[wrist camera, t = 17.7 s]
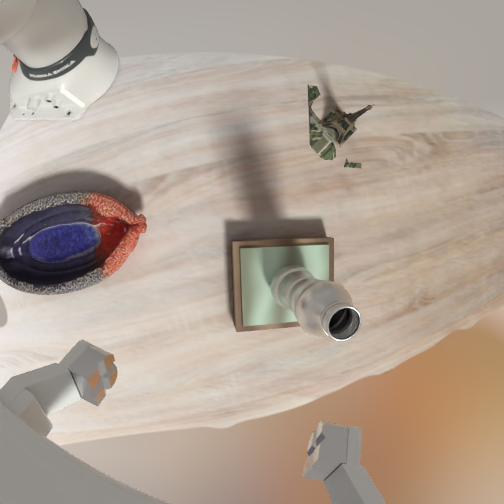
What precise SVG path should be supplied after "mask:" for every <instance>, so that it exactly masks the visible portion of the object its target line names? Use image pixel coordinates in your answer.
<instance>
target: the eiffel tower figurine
mask: <svg viewBox="0 0 504 504" xmlns="http://www.w3.org/2000/svg"><path fill="white" fill-rule="evenodd" d="M319 95H320V92H319V90H318V88H317V86H310V85H308V98H309V123H310V145H311V147H312V149H313V150H314V151H315V152H316V153H318V155H319V156H320V157H321V158H323V159H325V160H329V159H330V160H332V159H334V158H336V149H335V146H334V143H333V141H334V142H335V143H336V144H337V145H338V146H339V147H340V146H341V145H342V144H343V143H344V142H345V141H346V140H347V139H348V138H349V137H350V136H351V135H352V134H353V133H354V132H355V131H356V130H357V129H356V128H355V126H354V125H355V123H354V122H355V121H356V119H357V118H358V117H359V116H361V115H362V114H363V113H365V112H366V111H368V110H370V109H371V108H372V106H373V105H372V106H371V105H368V106H367V107H366V108H364V109H362V110H360V111H358V112H355V113H353V114H351V113H349V114H346V113H345V112H341V111H340V110H339V109H338V108H337V107H336V108H335V109H334V110H333V111H332V112H331V113H330V114H329V115H328V116H327V117H326V118H325V119H324V120H322V121H321V120H320V119H319V118H318V117H317V116H316V115H315V113H314V112H313V111H312V109H311V106H312V103H313V100H315V99H316V98H317V97H318V96H319ZM374 105H375V104H374ZM344 167H352V168H361V163H353V162H350V163H349V162H348V160H347V159H346V162H345V165H344Z"/></svg>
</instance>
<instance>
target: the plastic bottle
mask: <svg viewBox="0 0 504 504" xmlns="http://www.w3.org/2000/svg"><path fill="white" fill-rule="evenodd" d="M270 289H271V294H272V296H273V299H274V300H275V301H276V302H277V303H278V304H279V305H280V306H282V307H284V308H286V309H290V310H291V311H292V312H293V313H294V315H295V317H296V319H297V321H298V323H299V324H300V326H301V327H302V328H303V329H304V330H305V331H306V332H308V333H309V334H312V335H315V336H322V337H326V336H330V337H331V338H333V339H335V340H338V341H345V340H348V339H350V338H352V337H353V336H354V335H355V334H356V333H357V332H358V330H359V328H360V325H361V316H360V313H359V312H358V310H357V309H356V308H354V307H353V303H352V299H351V297H350V295H349V293H348V292H347V290H346V289H345V288H344V287H343V286H341V285H340V284H338V283H335V282H332V281H327V280H319V279H317V278H315V277H314V276H313V275H312V274H311V273H310V272H309V271H308V270H307V269H306V268H304V267H301V266H297V265H292V266H286V267H283V268H281V269H280V270H278V271H277V272H276V273H275V274H274V276H273V278H272V280H271V284H270Z"/></svg>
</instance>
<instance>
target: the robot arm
mask: <svg viewBox="0 0 504 504" xmlns="http://www.w3.org/2000/svg"><path fill="white" fill-rule="evenodd" d="M1 44H2V45H3V46H5V47H6V48H7V49H8V50H9V51H11V52H12V53H13V54H14V61H13V65H12V73H11V77H10V84H9V92H10V109H11V114H12V116H13V118H14V119H15V120H62V121H76V120H78V119H80V118H81V116H82V115H83V114H84V112H85V111H86V109H87V108H88V106H89V105H90V104H92V103H93V102H94V101H95V100H97V99H98V98H99V97H100V96H102V95H103V94H104V93H105V92H106V91H107V89H108V88H109V87H110V85H111V84H112V82H113V81H114V79H115V77H116V74H117V71H118V65H119V60H118V55H117V52H116V51H115V49H114V48H113V47H112V46H111V45H110V44H108V43H107V42H105V41H104V40H103V39H102V38H101V37H100V36H99V34H98V31H97V28H96V26H95V24H94V22H93V20H92V18H91V17H90V15H89V14H88V12H87V11H86V10H85V9H84V8H82V6H81V4H80V2H79V0H0V45H1ZM15 105H16V106H15ZM69 112H71V114H70V115H68V113H69ZM114 361H115V358H114V355H113V354H111V353H109V352H107V351H104V350H102V349H100V348H98V347H96V346H94V345H92V344H90V343H88V342H86V341H84V340H81V341H79V342H78V343H77V344H76V345H75V346H74V347H73V348H72V349H71V350H70V352H69V353H68V354H67V355H66V356H65V357H64V358H63V359H62V360H61V361H60V363H59V364H57V363H54V364H51V365H48V366H45V367H42V368H39V369H35V370H32V371H29V372H26V373H23V374H20V375H17V376H14V377H12V378H11V379H10V380H9V381H8V382H7V383H6V384H5V385H4V386H3V387H2V389H1V390H0V504H170V503H168V502H165V501H163V500H160V499H158V498H155V497H153V496H150V495H148V494H146V493H144V492H141V491H139V490H137V489H135V488H133V487H131V486H129V485H127V484H124V483H122V482H120V481H118V480H116V479H114V478H112V477H111V476H109V475H107V474H105V473H103V472H101V471H99V470H98V469H96V468H94V467H92V466H91V465H89V464H87V463H85V462H84V461H82V460H80V459H79V458H77V457H75V456H74V455H72V454H70V453H69V452H67V451H66V450H64V449H63V448H61V447H60V446H58V445H57V444H55V443H54V442H52V441H51V440H49V439H48V438H46V436H47V435H48V433H49V432H50V430H51V429H52V428H53V427H52V424H51V422H50V420H49V419H48V417H47V416H48V415H50V414H52V413H54V412H56V411H58V410H61V409H63V408H65V407H67V406H69V405H71V404H73V403H75V402H77V401H79V400H81V398H82V399H84V400H86V401H88V402H90V403H92V404H94V405H96V406H99V404H100V403H101V401H102V400H103V399H104V397H105V396H106V391H105V390H106V389H109V388H111V387H112V386H113V384H114V383H115V381H116V378H117V367H116V366H115V365H114V363H113V362H114ZM307 454H308V455H309V458H308V459H307V460H306V462H305V466H304V471H303V477H305V478H310V479H316V480H321V481H324V485H325V487H326V490H327V492H328V494H329V497H330V499H331V502H332V504H386V503H385V501H384V500H383V498H382V496H381V495H380V493H379V491H378V490H377V488H376V486H375V485H374V483H373V481H372V480H371V478H370V477H369V475H368V473H367V471H366V470H365V468H364V466H360V454H361V428H359V427H354V426H347V425H342V424H336V423H330V422H324V421H321V422H320V423H319V425H318V429H317V430H316V431H314V432H313V434H312V436H311V439H310V441H309V444H308V449H307Z"/></svg>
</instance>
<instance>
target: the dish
mask: <svg viewBox="0 0 504 504" xmlns="http://www.w3.org/2000/svg"><path fill="white" fill-rule="evenodd" d="M145 222H146V218H145V217H144V215H142V214H140V215H139V216H137V215H136V214H135V213H134V212H132V211H131V210H130V209H128V208H127V207H126V206H125V205H124V204H122V203H121V202H119V201H118V200H116V199H114V198H112V197H110V196H107V195H104V194H101V193H96V192H89V191H74V192H65V193H58V194H54V195H50V196H46V197H43V198H40V199H37V200H35V201H32V202H30V203H28V204H26V205H24V206H22V207H20V208H19V209H17V210H16V211H14V212H13V213H11V214H10V215H9V216H7V217H6V218H4V219H3V220H2V221H1V222H0V279H1V280H2V281H3V282H4V283H6V284H7V285H9V286H11V287H13V288H15V289H17V290H20V291H23V292H27V293H32V294H39V295H53V294H63V293H69V292H73V291H77V290H81V289H84V288H87V287H90V286H92V285H95V284H97V283H99V282H101V281H103V280H104V279H106V278H107V277H109V276H111V275H112V274H113V273H114V272H115V271H117V270H118V269H119V268H120V267H121V265H122V264H123V263H124V262H125V260H126V259H127V257H128V256H129V254H130V253H131V252H132V251H133V249H134V248H135V246H136V244H137V241H138V238H139V235H140V233H141V232H143V233H145V231H146V228H147V225H146V223H145Z"/></svg>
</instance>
